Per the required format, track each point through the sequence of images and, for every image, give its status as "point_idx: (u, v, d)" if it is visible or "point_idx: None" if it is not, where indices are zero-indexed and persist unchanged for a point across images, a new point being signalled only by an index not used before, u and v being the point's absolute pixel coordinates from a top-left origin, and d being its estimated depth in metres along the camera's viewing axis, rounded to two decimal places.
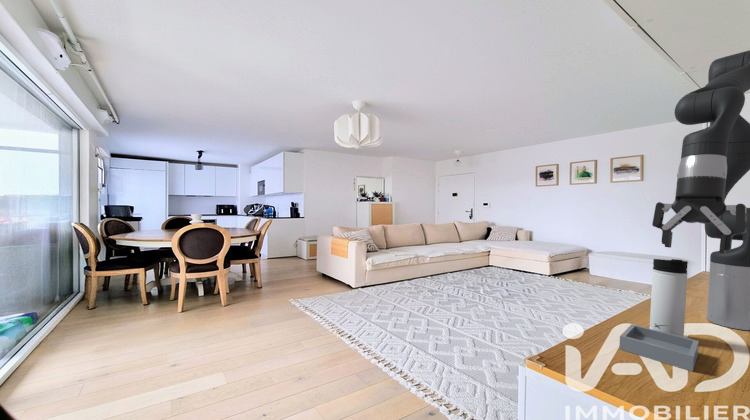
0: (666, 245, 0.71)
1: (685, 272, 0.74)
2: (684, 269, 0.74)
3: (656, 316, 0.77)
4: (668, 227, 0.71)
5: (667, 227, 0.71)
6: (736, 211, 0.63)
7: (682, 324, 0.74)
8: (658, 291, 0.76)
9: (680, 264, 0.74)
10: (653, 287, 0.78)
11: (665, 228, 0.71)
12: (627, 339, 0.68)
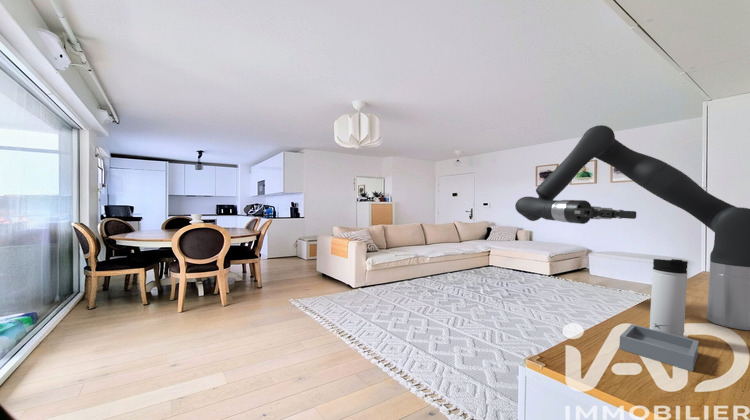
0: (634, 218, 0.88)
1: (685, 272, 0.74)
2: (684, 269, 0.74)
3: (656, 316, 0.77)
4: None
5: (618, 218, 0.92)
6: None
7: (682, 324, 0.74)
8: (658, 291, 0.76)
9: (680, 264, 0.74)
10: (653, 287, 0.78)
11: (619, 218, 0.92)
12: (627, 339, 0.68)
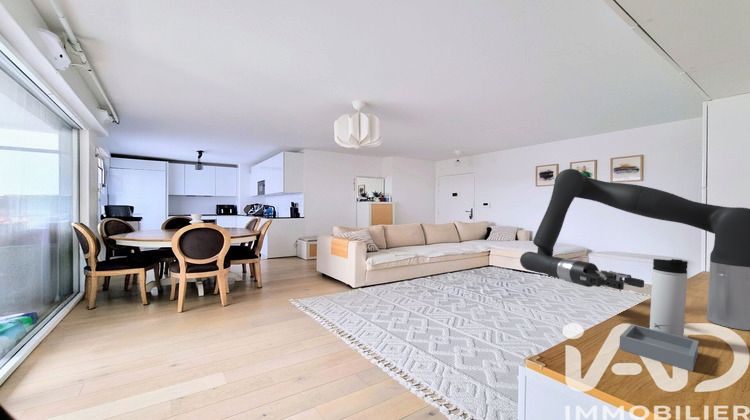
0: (641, 287, 0.86)
1: (685, 272, 0.74)
2: (684, 269, 0.74)
3: (656, 316, 0.77)
4: None
5: None
6: None
7: (682, 324, 0.74)
8: (658, 291, 0.76)
9: (680, 264, 0.74)
10: (653, 287, 0.78)
11: (627, 284, 0.90)
12: (627, 339, 0.68)
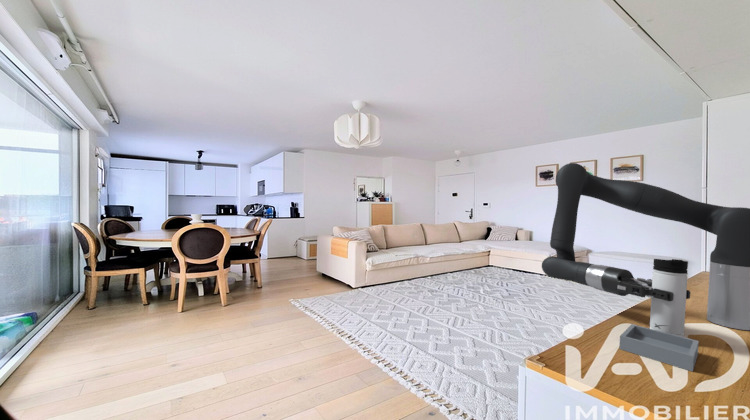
0: (687, 298, 0.76)
1: (686, 272, 0.74)
2: (684, 269, 0.74)
3: (656, 316, 0.77)
4: None
5: None
6: None
7: (682, 324, 0.74)
8: None
9: (680, 264, 0.74)
10: (653, 287, 0.78)
11: None
12: (627, 339, 0.68)
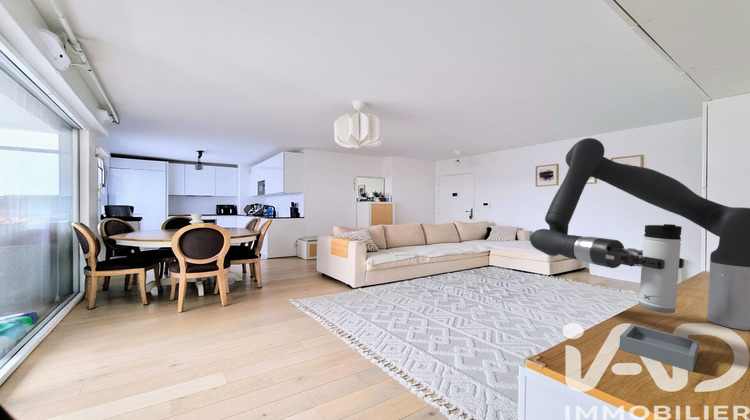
0: (680, 267, 0.70)
1: (679, 238, 0.68)
2: (677, 235, 0.68)
3: (646, 286, 0.71)
4: None
5: None
6: None
7: (674, 294, 0.68)
8: None
9: (673, 229, 0.68)
10: (644, 256, 0.72)
11: None
12: (627, 339, 0.68)
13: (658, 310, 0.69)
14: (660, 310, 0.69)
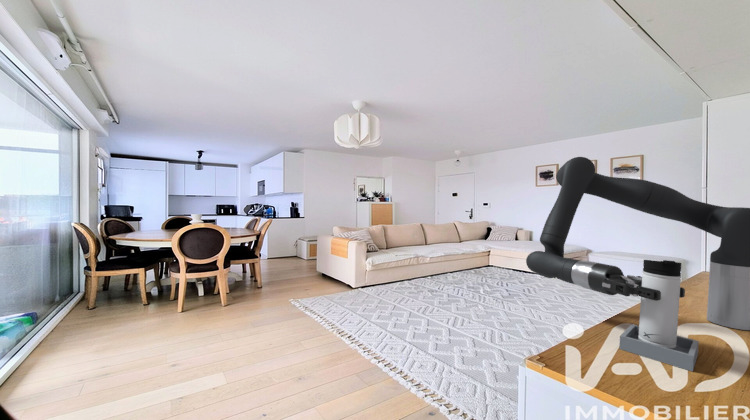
0: (681, 297, 0.68)
1: (679, 275, 0.66)
2: (677, 271, 0.65)
3: (645, 324, 0.68)
4: None
5: None
6: None
7: (674, 333, 0.66)
8: None
9: (673, 266, 0.65)
10: None
11: None
12: (627, 339, 0.68)
13: None
14: None
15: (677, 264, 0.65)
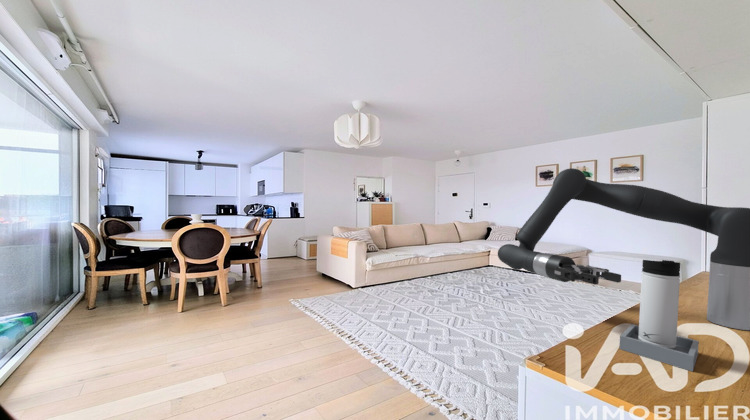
0: None
1: (678, 274, 0.66)
2: (676, 271, 0.66)
3: (645, 324, 0.68)
4: (602, 278, 0.84)
5: None
6: None
7: (674, 333, 0.66)
8: (648, 296, 0.68)
9: (672, 266, 0.66)
10: (642, 291, 0.70)
11: (604, 279, 0.84)
12: (627, 339, 0.68)
13: None
14: None
15: (676, 264, 0.65)
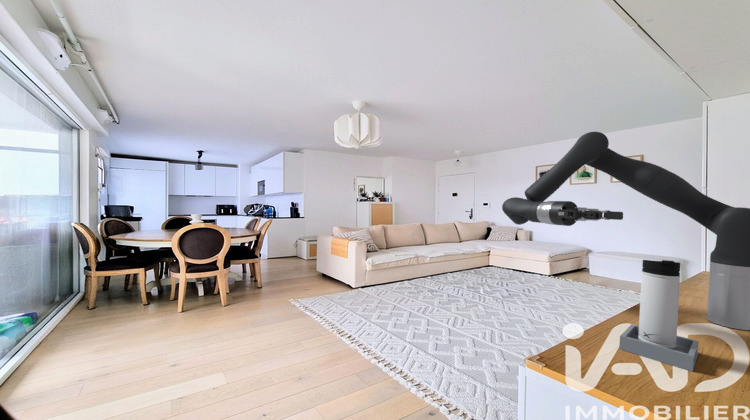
0: (620, 219, 0.83)
1: (678, 274, 0.66)
2: (676, 271, 0.66)
3: (645, 324, 0.68)
4: None
5: None
6: None
7: (674, 333, 0.66)
8: (648, 296, 0.68)
9: (672, 266, 0.66)
10: (642, 291, 0.70)
11: (606, 219, 0.87)
12: (627, 339, 0.68)
13: None
14: None
15: (676, 264, 0.65)
